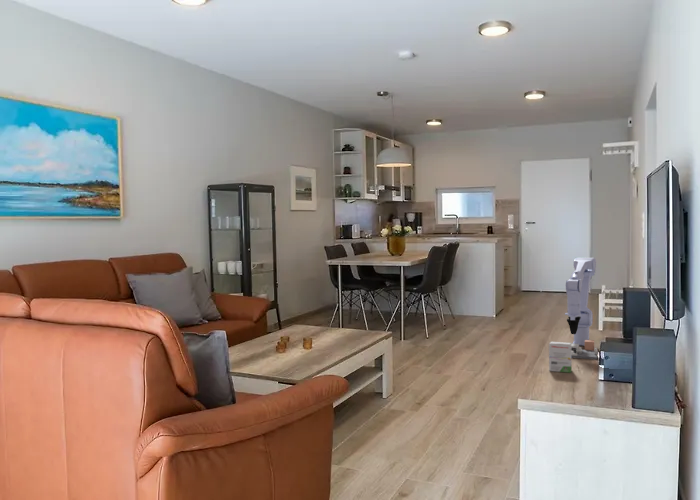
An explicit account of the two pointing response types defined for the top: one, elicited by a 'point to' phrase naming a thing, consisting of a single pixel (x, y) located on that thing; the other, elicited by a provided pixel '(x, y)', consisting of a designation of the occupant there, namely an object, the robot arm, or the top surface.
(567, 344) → the ink box
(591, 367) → the top surface
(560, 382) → the top surface
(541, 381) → the top surface
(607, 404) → the top surface
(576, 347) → the cover
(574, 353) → the deck
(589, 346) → the block
